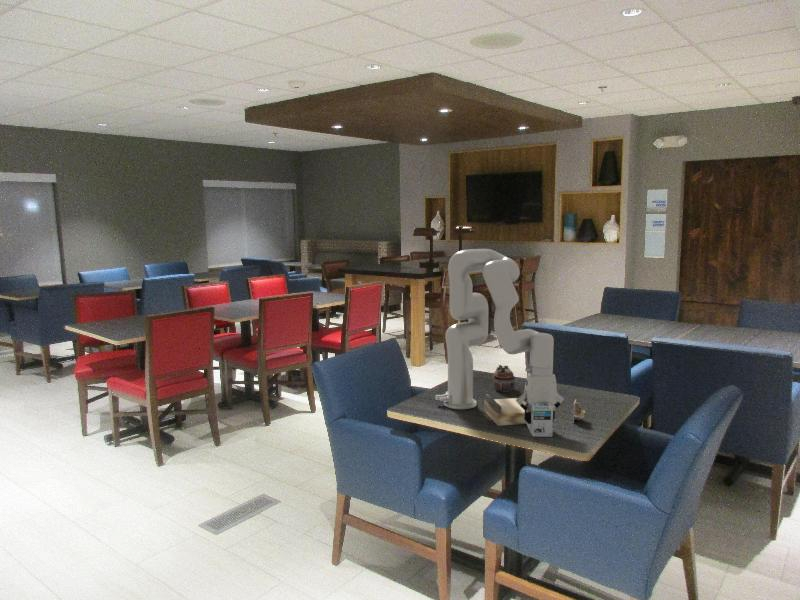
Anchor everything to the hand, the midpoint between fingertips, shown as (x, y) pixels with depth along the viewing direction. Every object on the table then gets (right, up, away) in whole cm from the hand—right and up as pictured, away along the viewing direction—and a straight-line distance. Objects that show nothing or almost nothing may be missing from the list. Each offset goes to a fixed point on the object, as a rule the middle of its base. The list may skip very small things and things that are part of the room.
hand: (539, 421), depth 196 cm
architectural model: (+16, -3, +10) cm, 19 cm away
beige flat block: (-7, -1, +15) cm, 17 cm away
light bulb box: (0, -4, +1) cm, 4 cm away
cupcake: (-4, +3, +48) cm, 48 cm away
